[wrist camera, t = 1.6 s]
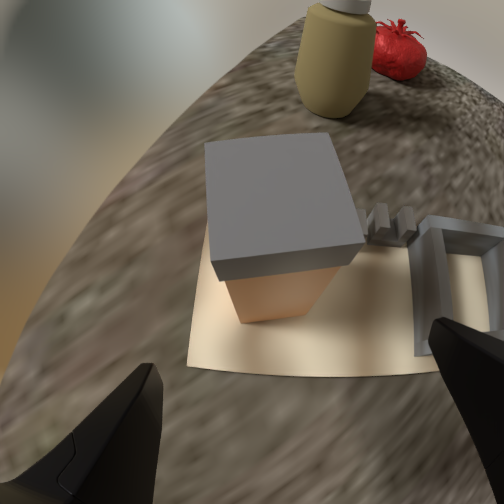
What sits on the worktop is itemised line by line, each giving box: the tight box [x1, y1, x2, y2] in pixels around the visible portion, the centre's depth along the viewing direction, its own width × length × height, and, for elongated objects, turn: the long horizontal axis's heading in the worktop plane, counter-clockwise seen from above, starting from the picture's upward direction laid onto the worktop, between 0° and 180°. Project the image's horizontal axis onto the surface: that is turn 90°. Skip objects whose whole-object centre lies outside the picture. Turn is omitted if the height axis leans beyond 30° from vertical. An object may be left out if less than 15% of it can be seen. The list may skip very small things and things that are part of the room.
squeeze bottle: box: [294, 0, 377, 118], centre depth 22 cm, size 8×8×18 cm
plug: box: [205, 133, 365, 324], centre depth 15 cm, size 5×5×12 cm
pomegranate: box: [372, 19, 427, 81], centre depth 30 cm, size 10×10×9 cm
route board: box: [187, 202, 504, 377], centre depth 19 cm, size 26×12×5 cm, turn 85°
